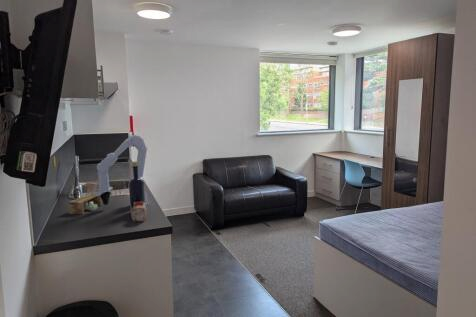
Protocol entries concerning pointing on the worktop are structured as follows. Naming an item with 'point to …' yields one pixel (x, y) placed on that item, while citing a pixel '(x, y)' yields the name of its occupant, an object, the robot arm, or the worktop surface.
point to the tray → (90, 206)
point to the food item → (139, 212)
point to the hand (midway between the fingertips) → (105, 204)
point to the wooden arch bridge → (78, 204)
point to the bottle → (136, 188)
